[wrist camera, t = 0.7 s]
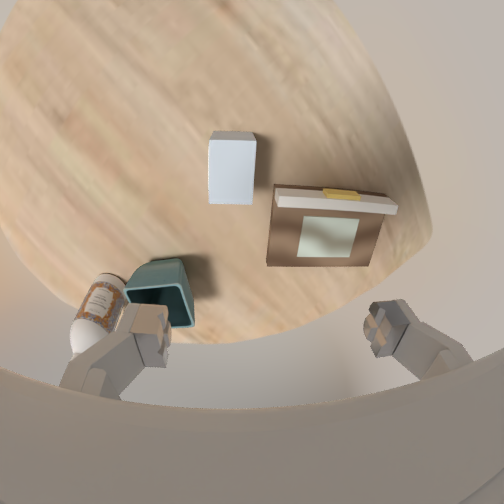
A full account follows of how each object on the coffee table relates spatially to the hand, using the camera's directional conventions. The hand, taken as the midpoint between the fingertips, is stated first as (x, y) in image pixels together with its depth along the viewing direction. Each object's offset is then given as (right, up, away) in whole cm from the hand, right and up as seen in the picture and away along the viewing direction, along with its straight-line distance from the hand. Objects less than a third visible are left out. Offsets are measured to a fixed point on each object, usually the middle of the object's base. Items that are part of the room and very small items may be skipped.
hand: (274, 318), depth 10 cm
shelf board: (+11, +6, +32) cm, 34 cm away
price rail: (+11, +10, +27) cm, 31 cm away
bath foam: (-27, -4, +36) cm, 45 cm away
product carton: (-4, +15, +25) cm, 29 cm away
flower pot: (-15, -1, +34) cm, 37 cm away
